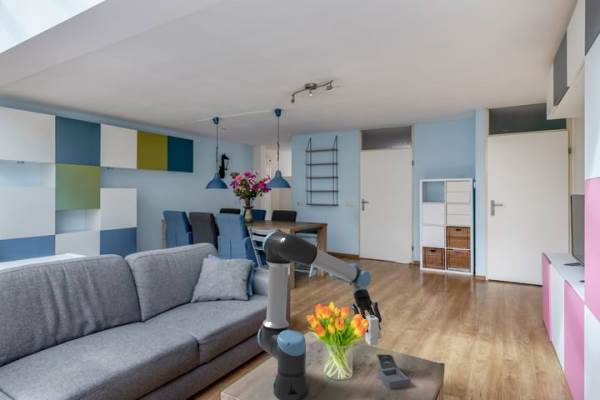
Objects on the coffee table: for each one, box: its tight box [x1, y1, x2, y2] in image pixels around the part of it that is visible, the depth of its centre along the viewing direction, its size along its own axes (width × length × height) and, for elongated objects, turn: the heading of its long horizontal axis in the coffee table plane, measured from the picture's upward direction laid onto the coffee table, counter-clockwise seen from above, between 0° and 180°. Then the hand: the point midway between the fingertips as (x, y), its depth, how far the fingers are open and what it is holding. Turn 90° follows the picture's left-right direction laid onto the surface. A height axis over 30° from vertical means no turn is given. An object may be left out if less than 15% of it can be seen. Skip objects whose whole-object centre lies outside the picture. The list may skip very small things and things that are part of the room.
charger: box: [364, 315, 379, 346], centre depth 166 cm, size 4×5×13 cm
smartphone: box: [376, 353, 397, 370], centre depth 172 cm, size 8×1×15 cm
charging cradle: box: [377, 367, 410, 390], centre depth 155 cm, size 9×10×3 cm
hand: (375, 338), depth 162 cm, fingers closed on charger, 4 cm apart
